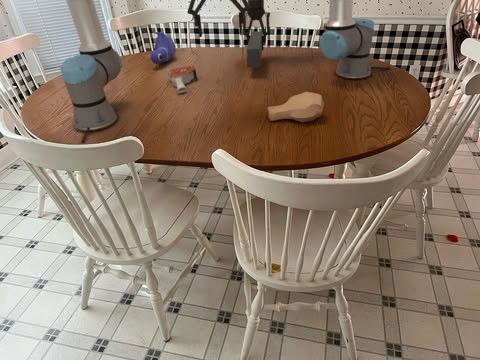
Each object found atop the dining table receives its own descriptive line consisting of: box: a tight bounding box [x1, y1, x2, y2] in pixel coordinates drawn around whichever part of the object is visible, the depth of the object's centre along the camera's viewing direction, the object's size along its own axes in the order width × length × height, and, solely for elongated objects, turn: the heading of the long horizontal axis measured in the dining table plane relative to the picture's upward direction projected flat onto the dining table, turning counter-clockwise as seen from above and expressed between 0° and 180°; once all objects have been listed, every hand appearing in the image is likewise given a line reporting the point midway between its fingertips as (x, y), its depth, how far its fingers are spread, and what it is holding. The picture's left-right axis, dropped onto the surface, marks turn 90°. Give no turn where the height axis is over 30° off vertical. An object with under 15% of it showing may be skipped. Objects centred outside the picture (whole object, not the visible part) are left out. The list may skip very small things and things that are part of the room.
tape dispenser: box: [166, 65, 198, 94], centre depth 159 cm, size 18×5×20 cm
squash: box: [266, 91, 325, 123], centre depth 125 cm, size 11×20×9 cm, turn 92°
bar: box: [246, 30, 263, 69], centre depth 168 cm, size 29×6×8 cm, turn 174°
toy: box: [148, 31, 177, 69], centre depth 182 cm, size 10×17×25 cm
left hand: (220, 35), depth 120 cm, fingers open, 13 cm apart
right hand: (256, 49), depth 178 cm, fingers closed on bar, 6 cm apart
